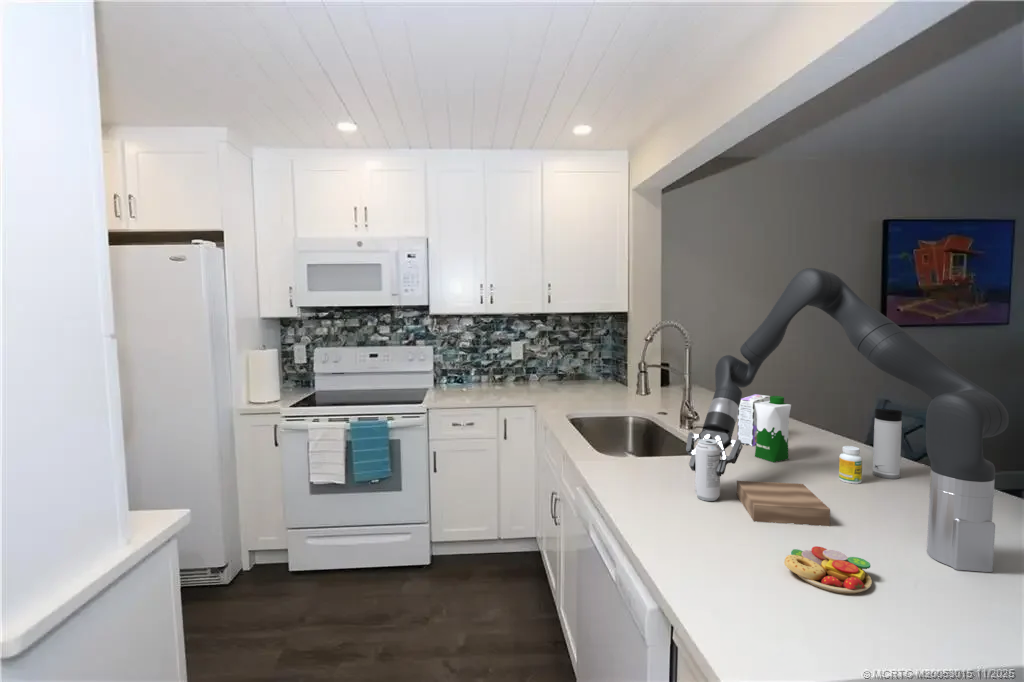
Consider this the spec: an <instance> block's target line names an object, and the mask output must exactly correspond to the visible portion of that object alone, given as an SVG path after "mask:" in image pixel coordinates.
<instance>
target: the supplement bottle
mask: <svg viewBox="0 0 1024 682" xmlns="http://www.w3.org/2000/svg"><path fill="white" fill-rule="evenodd" d="M860 450H861V449H860V448H859V447H857V446H853V445H844V446H842V453H840V454H839V457H838V459H839V460H838V461H839V465H838V479H839V480H840V482H844V483H847V484H851V483H852V485H855V484H856V485H857V484H858V483H859V484H861V483H862V479H863V478H862V477H863V476H862V474H863V457H862V456H861V455H860V453H861V452H860Z"/></svg>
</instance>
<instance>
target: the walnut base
mask: <svg viewBox="0 0 1024 682" xmlns="http://www.w3.org/2000/svg"><path fill="white" fill-rule="evenodd" d="M735 493H736V495H735V496H736V498H738V500H739V502H740V503H741V504H742V506H743V508H744V509H745V511H746V512H747V514H748V515H749V517H750V518H751V519H752V522H755V521H757V523H771V522H773V523H775V522H776V523H775V524H787V523H794V524H793V525H803V524H809V525H808V526H819V525H821V526H822V527H830V521H831V508H829V507H828V506H827V505H826V504H825V503H824V502H823V501H822V500H821V499H820V498H819V497H818V496H816V495H815V494H814V493H813V492H812V491H811V490H810V489H809V488H808V487H807V486H806V485H804V483H793V482H791V483H790V482H775V481H774V482H773V481H772V482H771V481H754V480H753V481H752V480H736V492H735Z"/></svg>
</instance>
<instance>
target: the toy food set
mask: <svg viewBox="0 0 1024 682" xmlns="http://www.w3.org/2000/svg"><path fill="white" fill-rule="evenodd" d="M783 563H784V566H785V567H786V568H787V569H789V571H790V572H792V573H794V574H796V575H797V576H798V577H799V578H800V579H801V580H802V581H804V582H806V583H808V584H810V585H812V586H813V587H816V588H818V587H819V589H821V590H824V591H828V592H832V593H838V594H849V595H851V594H859V593H861V592H865V591H867V590H869V588H870V587H871V586H872V583H873V579H872V578H871V576H870V575H869V573H868V572H866V570H868V569H870V568H871V567H872V566H871V563H870V561H868V560H866V559H864V558H861V557H858V556H857V557H856V556H850V557H848V556H847V554H846V553H844V552H841V551H838V550H835V549H827V548H824V547H822V546H812V548H811V550H809V549H805V550H801V549H798V548H797V549H795V548H793V549H792V550H791V551H790V554H788V555H786V557H785V558H784V562H783Z"/></svg>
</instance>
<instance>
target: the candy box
mask: <svg viewBox="0 0 1024 682" xmlns="http://www.w3.org/2000/svg"><path fill="white" fill-rule="evenodd" d="M770 396H771V395H764V394H758V393H757V394H756V393H754V394H752V395H749V396H746V397H742V398H741V402H740V405H739V409H738V416H737V439H736V440H738V439H739V440H740V441H741V443H742V445H744V444H746V445H745V446H748V445H751V446H750V447H755V446H756V441H757V413H756V408H755V404H754V403H760V402H766V401H770ZM754 445H755V446H754Z"/></svg>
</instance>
